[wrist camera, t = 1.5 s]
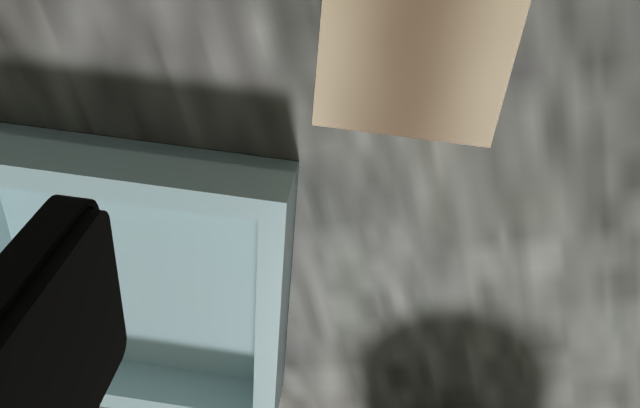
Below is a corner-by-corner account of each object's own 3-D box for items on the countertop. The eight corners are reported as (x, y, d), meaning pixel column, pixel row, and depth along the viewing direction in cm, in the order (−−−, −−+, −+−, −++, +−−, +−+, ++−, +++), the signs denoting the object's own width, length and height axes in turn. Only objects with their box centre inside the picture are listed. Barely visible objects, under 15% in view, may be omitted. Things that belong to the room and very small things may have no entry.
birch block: (511, -79, 21) (543, -42, 16) (473, 78, 25) (490, 147, 20) (345, -97, 22) (327, -66, 17) (330, 61, 25) (312, 125, 20)
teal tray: (299, 161, 28) (286, 203, 25) (283, 383, 37) (273, 433, 34) (-30, 118, 29) (-78, 154, 26) (33, 346, 38) (3, 391, 35)
